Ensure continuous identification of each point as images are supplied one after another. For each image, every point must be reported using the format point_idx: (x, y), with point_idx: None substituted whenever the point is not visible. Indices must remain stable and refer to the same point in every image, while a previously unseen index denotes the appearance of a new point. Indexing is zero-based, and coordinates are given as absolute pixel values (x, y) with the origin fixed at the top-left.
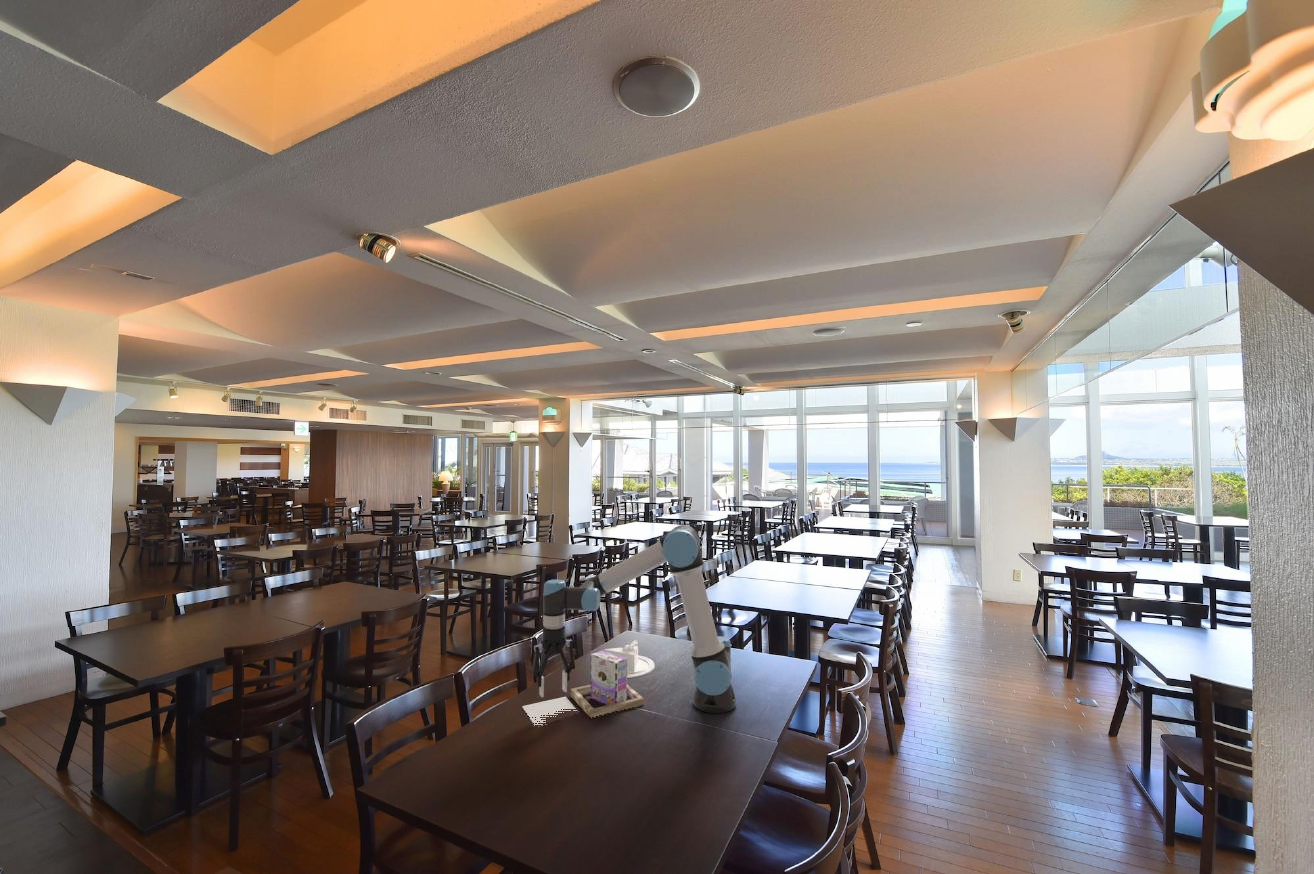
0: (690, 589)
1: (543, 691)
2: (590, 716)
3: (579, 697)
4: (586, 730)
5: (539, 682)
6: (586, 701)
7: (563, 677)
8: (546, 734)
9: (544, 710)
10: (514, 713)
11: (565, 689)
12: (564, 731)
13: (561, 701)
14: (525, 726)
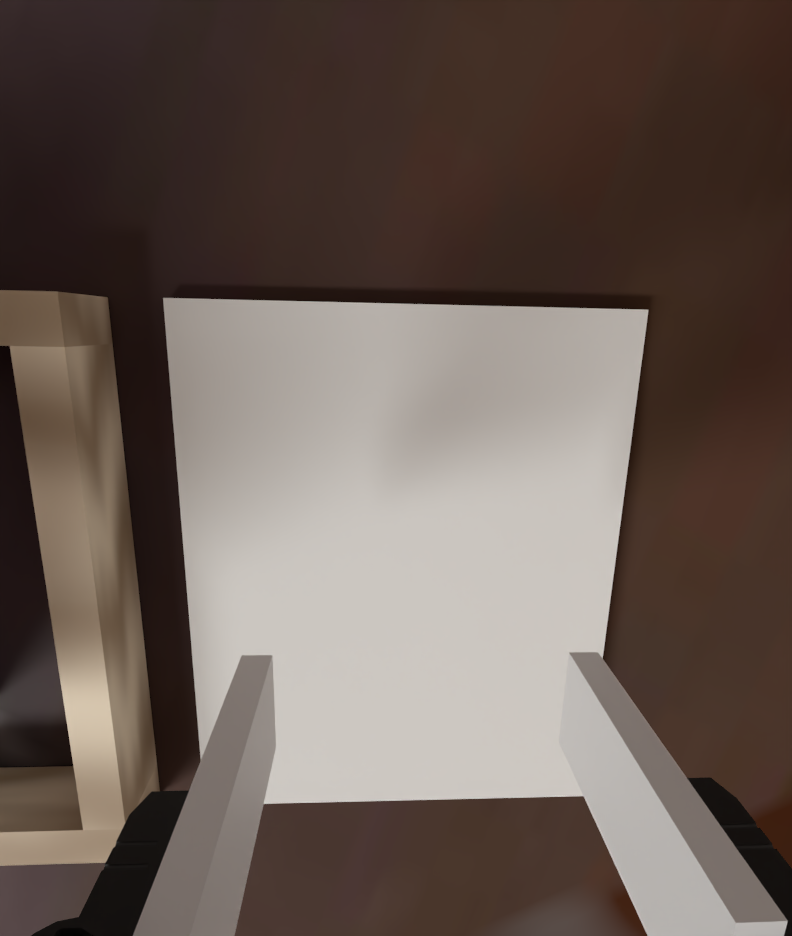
0: None
1: (602, 699)
2: (95, 315)
3: (97, 662)
4: (216, 110)
5: (740, 846)
6: (48, 545)
7: (232, 882)
8: (587, 252)
9: (453, 654)
10: (663, 726)
11: (256, 677)
12: (421, 216)
13: None
14: (680, 487)
